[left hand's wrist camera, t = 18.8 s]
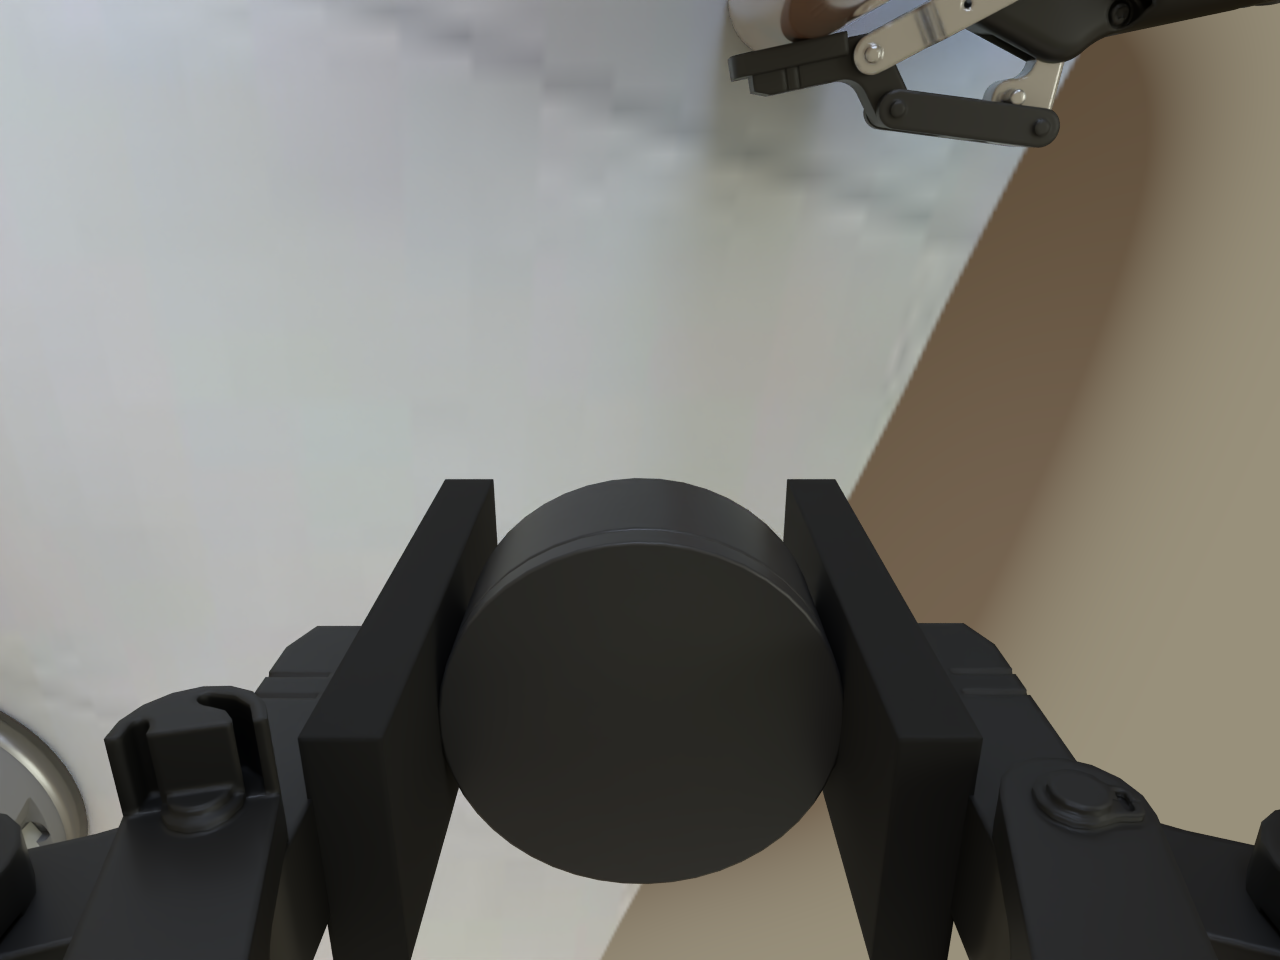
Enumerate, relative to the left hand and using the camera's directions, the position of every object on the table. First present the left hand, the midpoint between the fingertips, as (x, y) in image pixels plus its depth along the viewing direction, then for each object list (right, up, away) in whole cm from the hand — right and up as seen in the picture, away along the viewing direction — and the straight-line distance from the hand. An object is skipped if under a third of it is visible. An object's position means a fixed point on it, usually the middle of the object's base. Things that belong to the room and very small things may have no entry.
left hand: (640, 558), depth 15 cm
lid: (0, -1, -4) cm, 4 cm away
